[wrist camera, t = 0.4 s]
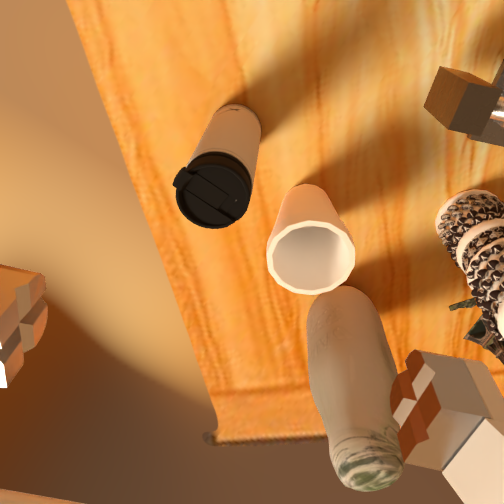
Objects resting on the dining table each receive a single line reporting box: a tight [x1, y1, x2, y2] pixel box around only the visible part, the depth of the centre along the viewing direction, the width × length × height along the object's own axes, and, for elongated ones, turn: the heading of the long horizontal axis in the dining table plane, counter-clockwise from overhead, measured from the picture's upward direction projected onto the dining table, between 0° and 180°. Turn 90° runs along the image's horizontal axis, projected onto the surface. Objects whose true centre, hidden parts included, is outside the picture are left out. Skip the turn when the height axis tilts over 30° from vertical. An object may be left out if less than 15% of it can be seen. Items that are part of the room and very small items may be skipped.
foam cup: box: [266, 184, 355, 295], centre depth 52 cm, size 10×9×13 cm
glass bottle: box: [307, 286, 405, 491], centre depth 53 cm, size 10×10×28 cm
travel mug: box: [173, 104, 261, 229], centre depth 44 cm, size 6×7×20 cm
